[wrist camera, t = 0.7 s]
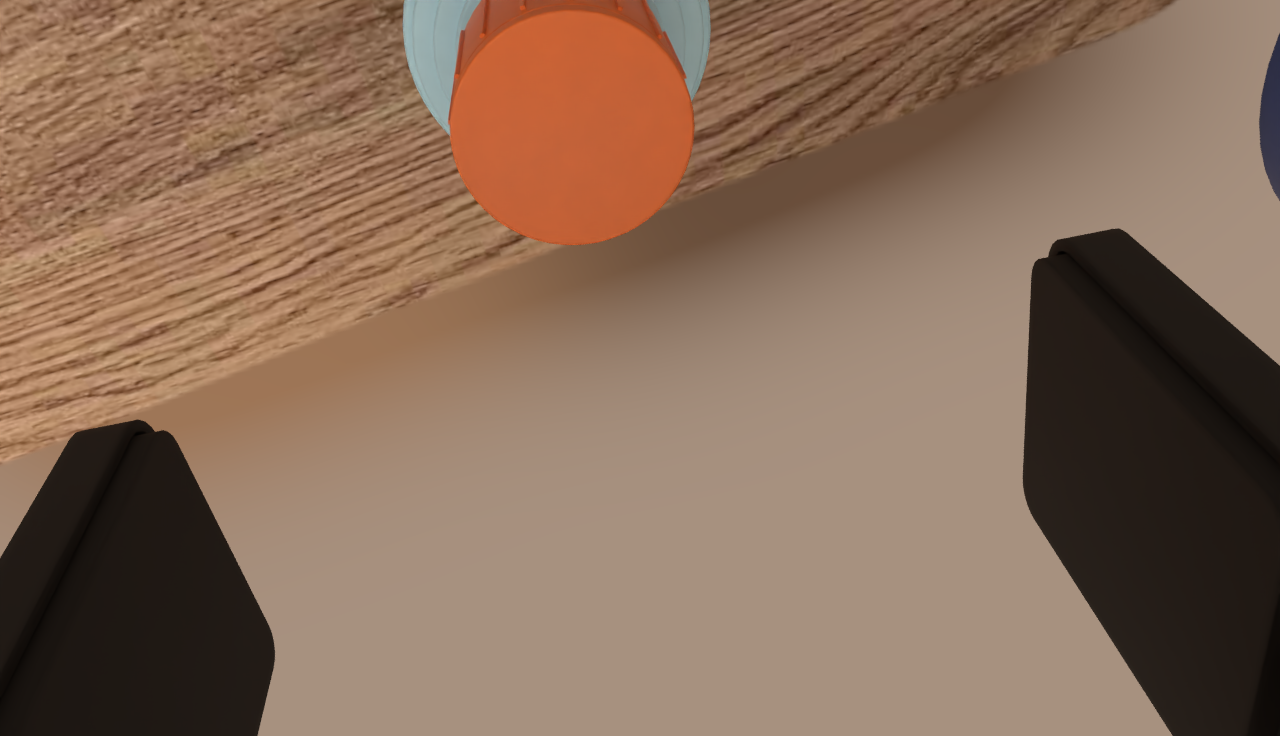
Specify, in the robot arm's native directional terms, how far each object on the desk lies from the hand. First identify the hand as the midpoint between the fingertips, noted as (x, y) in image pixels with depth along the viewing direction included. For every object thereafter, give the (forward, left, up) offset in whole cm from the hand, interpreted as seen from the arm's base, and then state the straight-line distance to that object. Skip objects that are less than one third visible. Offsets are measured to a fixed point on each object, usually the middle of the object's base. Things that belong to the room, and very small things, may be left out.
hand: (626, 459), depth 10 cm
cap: (0, 0, -13) cm, 13 cm away
